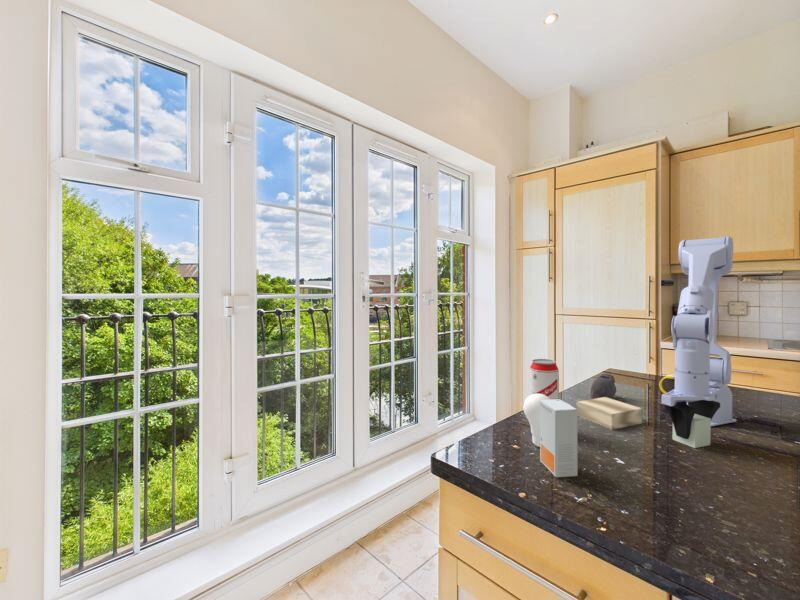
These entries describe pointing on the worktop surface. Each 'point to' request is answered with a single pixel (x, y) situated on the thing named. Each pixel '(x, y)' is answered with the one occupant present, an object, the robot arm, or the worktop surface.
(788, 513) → the worktop surface
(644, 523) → the worktop surface
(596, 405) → the maple block
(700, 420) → the sage block
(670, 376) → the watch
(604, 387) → the perforated stone tool
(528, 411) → the lightbulb
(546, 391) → the beer can
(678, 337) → the robot arm
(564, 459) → the skincare box
